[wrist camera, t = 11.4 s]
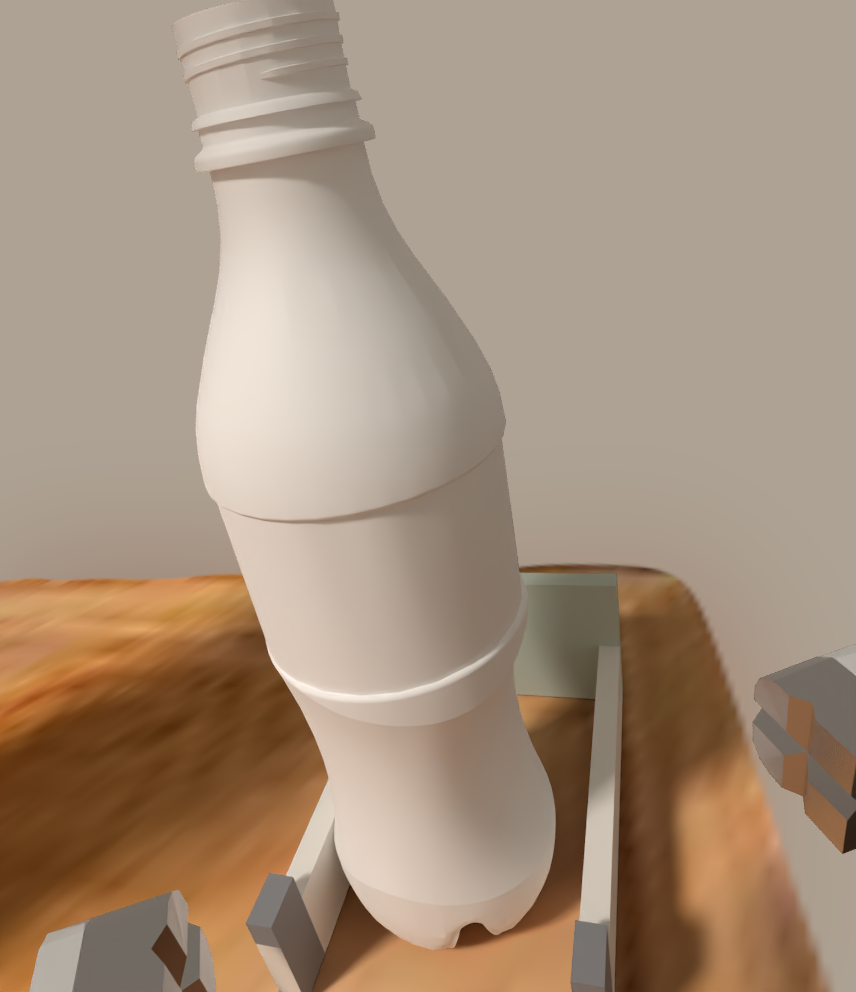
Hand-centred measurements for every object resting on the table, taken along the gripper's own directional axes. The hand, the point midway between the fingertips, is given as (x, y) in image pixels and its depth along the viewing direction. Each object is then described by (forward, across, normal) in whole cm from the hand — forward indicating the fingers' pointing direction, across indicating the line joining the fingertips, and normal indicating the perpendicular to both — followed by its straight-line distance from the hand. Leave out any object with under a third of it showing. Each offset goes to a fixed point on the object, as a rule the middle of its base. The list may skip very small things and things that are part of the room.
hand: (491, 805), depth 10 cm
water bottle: (+9, 0, +15) cm, 18 cm away
